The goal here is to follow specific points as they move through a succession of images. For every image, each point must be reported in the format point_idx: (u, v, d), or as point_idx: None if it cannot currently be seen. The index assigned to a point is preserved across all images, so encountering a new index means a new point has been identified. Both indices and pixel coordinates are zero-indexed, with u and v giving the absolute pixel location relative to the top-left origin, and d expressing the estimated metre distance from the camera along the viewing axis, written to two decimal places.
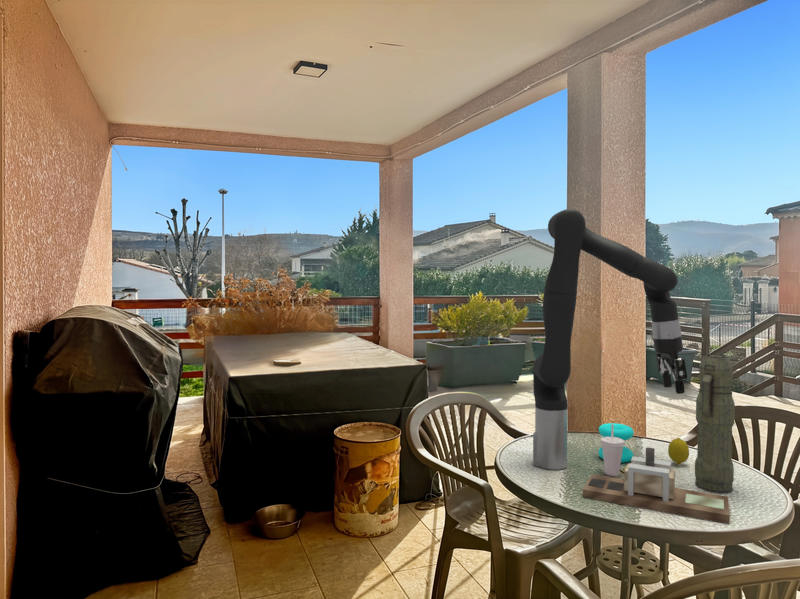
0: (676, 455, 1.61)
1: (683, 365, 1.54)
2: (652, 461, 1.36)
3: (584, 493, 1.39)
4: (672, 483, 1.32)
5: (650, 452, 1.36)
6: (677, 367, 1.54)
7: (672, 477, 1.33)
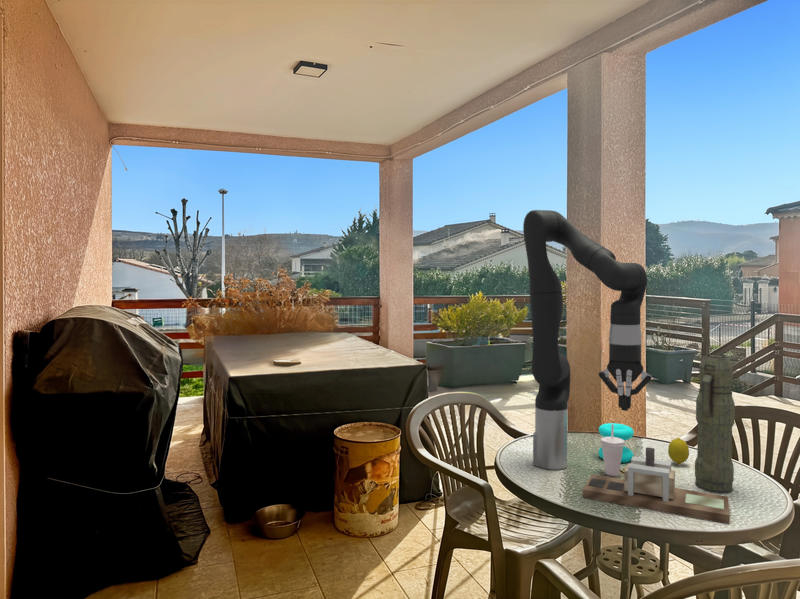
0: (676, 455, 1.61)
1: None
2: (652, 461, 1.36)
3: (584, 493, 1.39)
4: (672, 483, 1.32)
5: (650, 452, 1.36)
6: None
7: (672, 477, 1.33)
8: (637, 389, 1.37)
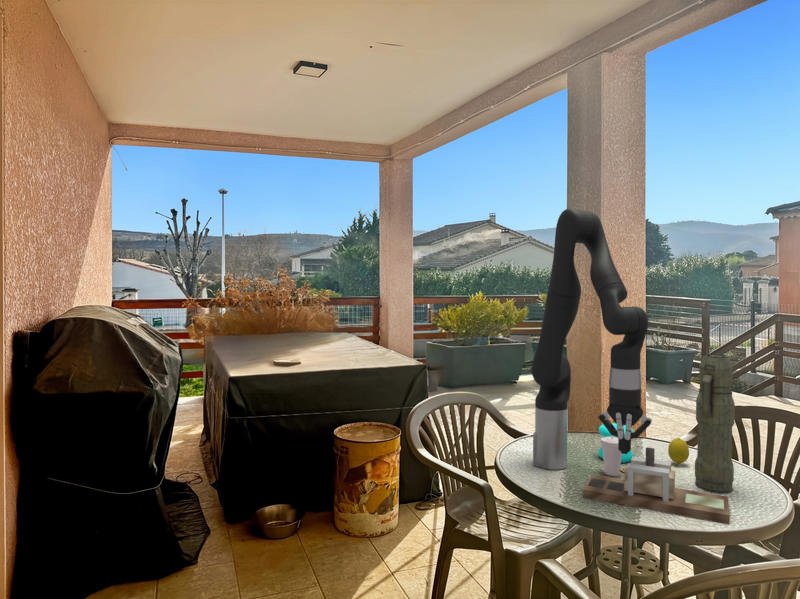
0: (676, 455, 1.61)
1: None
2: (652, 461, 1.36)
3: (584, 493, 1.39)
4: (672, 483, 1.32)
5: (650, 452, 1.36)
6: None
7: (672, 477, 1.33)
8: (637, 433, 1.37)
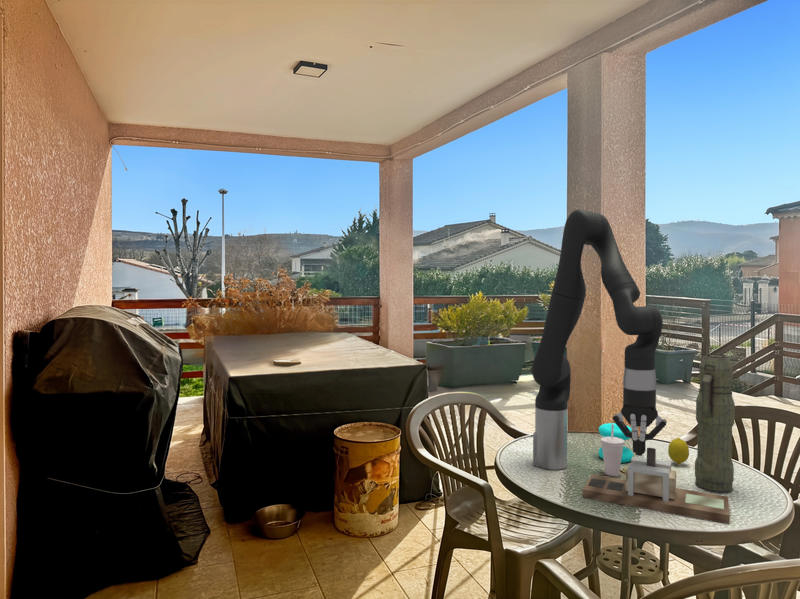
0: (676, 455, 1.61)
1: None
2: (653, 461, 1.36)
3: (584, 493, 1.39)
4: (673, 483, 1.32)
5: (651, 452, 1.36)
6: None
7: (673, 477, 1.32)
8: (652, 434, 1.35)
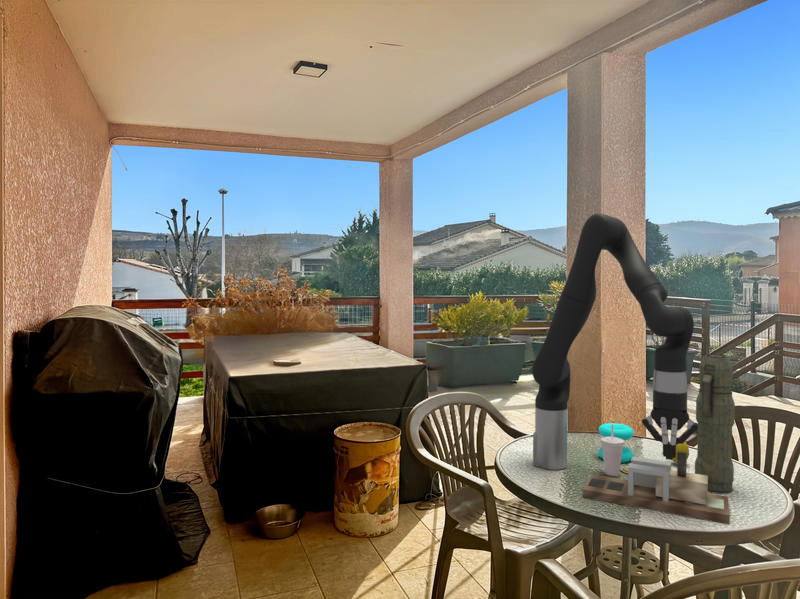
0: (676, 455, 1.61)
1: None
2: (684, 466, 1.33)
3: (584, 493, 1.39)
4: (706, 488, 1.29)
5: (682, 456, 1.33)
6: None
7: (706, 482, 1.29)
8: (683, 438, 1.32)
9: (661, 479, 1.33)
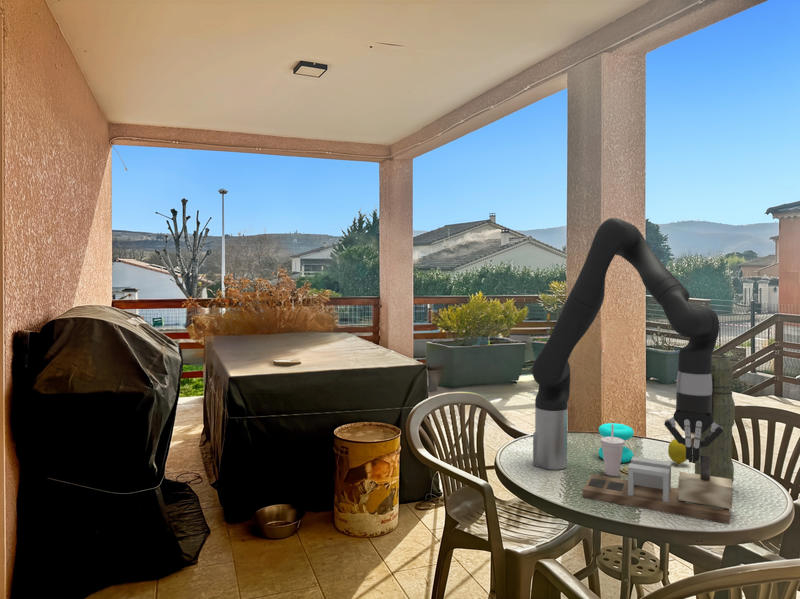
0: (676, 455, 1.61)
1: None
2: (708, 469, 1.30)
3: (584, 493, 1.39)
4: (731, 492, 1.26)
5: (706, 460, 1.30)
6: None
7: (730, 486, 1.27)
8: (707, 441, 1.30)
9: (684, 483, 1.31)
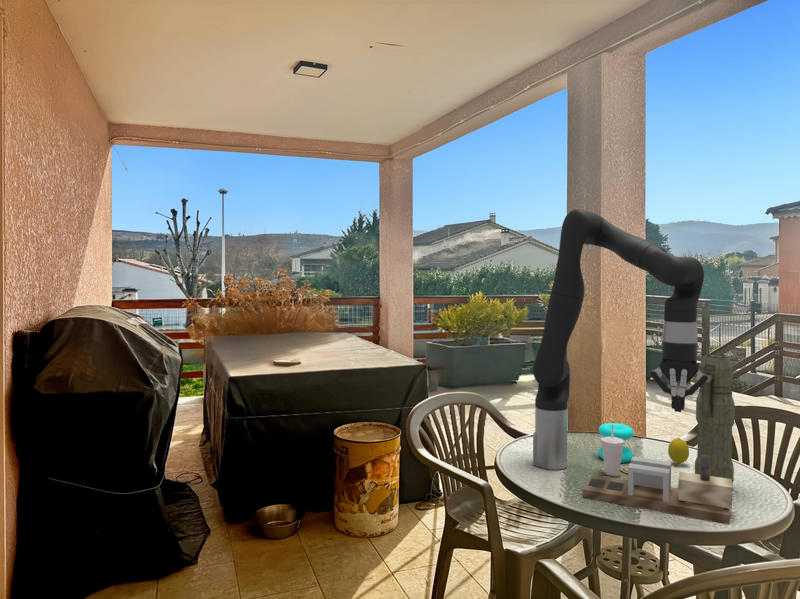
0: (676, 455, 1.61)
1: None
2: (708, 469, 1.30)
3: (584, 493, 1.39)
4: (730, 492, 1.26)
5: (706, 460, 1.30)
6: None
7: (730, 486, 1.27)
8: (692, 390, 1.30)
9: (684, 483, 1.31)
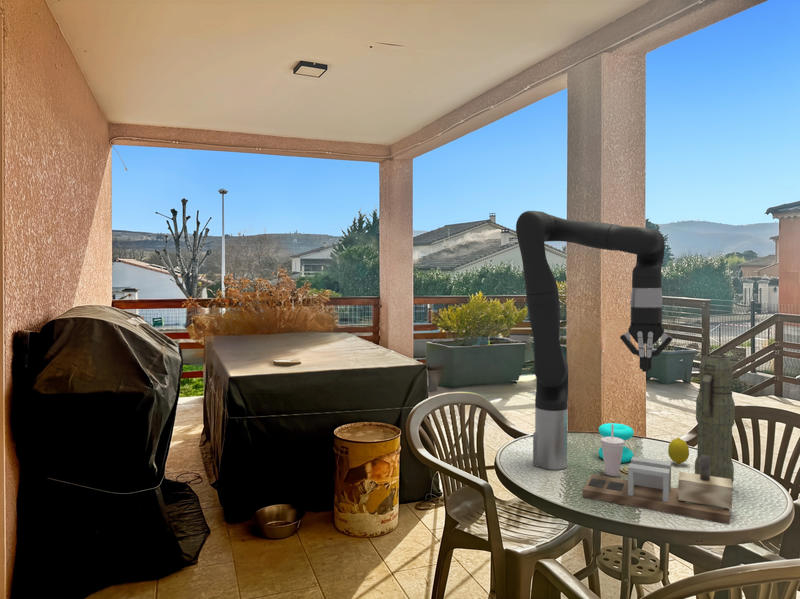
0: (676, 455, 1.61)
1: None
2: (708, 469, 1.30)
3: (584, 493, 1.39)
4: (730, 492, 1.26)
5: (706, 460, 1.30)
6: None
7: (730, 486, 1.27)
8: (658, 350, 1.41)
9: (684, 483, 1.31)
